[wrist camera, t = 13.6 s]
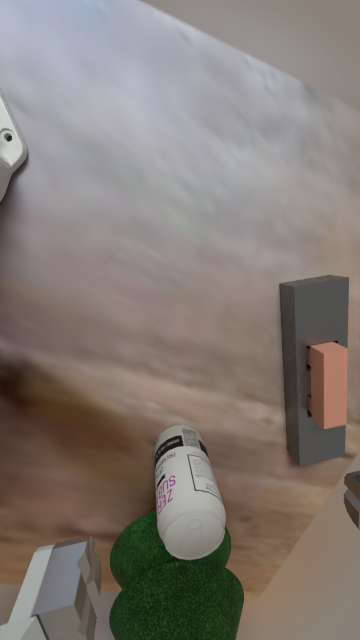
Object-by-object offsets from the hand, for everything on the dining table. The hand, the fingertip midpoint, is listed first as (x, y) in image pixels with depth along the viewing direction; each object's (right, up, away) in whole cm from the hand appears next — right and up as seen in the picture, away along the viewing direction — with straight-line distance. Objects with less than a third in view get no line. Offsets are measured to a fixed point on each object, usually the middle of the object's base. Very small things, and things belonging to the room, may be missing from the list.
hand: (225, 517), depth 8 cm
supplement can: (-2, -15, +36) cm, 39 cm away
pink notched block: (+20, -2, +35) cm, 41 cm away
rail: (+20, -2, +35) cm, 41 cm away
